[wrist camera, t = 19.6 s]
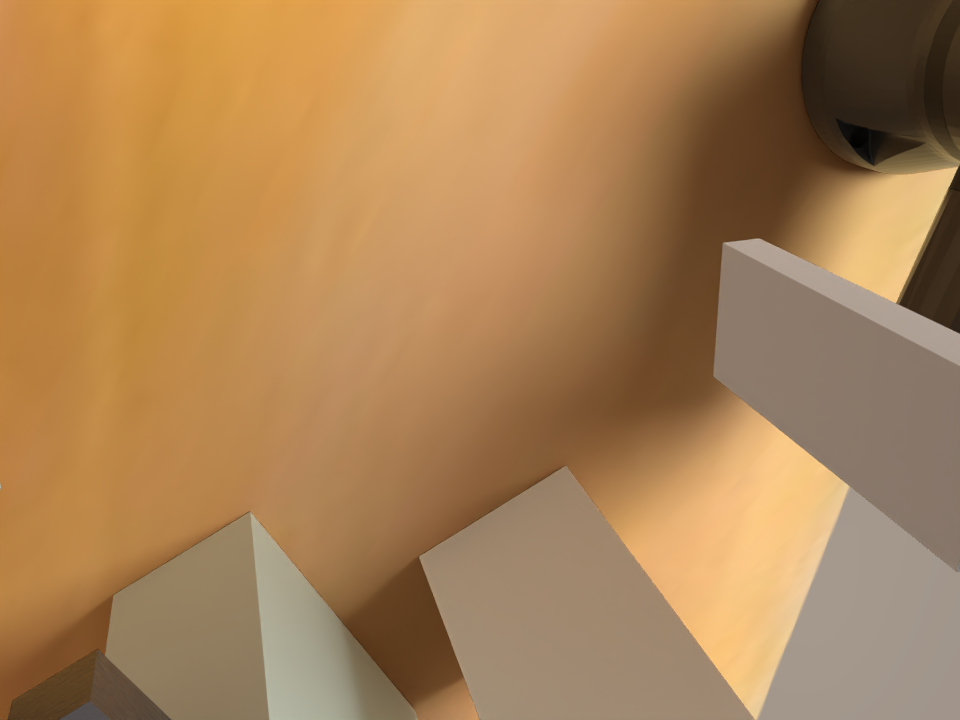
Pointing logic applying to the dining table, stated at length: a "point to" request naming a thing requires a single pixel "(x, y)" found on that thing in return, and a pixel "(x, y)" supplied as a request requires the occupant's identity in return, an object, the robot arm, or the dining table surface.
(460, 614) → the taupe rectangular block
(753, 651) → the dining table surface
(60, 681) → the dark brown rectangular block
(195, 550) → the grey-green rectangular block
